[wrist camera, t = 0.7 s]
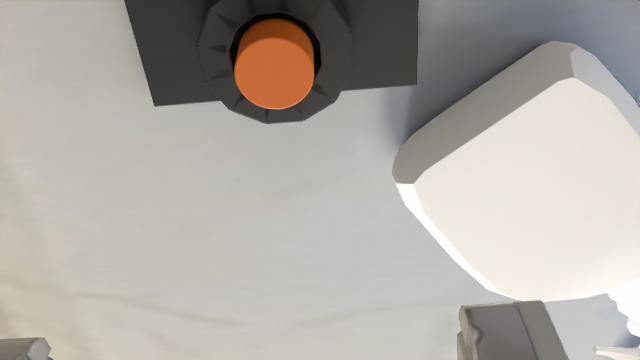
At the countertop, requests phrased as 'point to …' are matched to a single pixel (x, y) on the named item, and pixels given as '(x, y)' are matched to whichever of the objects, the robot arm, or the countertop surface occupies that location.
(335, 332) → the countertop surface
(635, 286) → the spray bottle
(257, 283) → the countertop surface
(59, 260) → the countertop surface
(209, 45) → the scale
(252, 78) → the button
